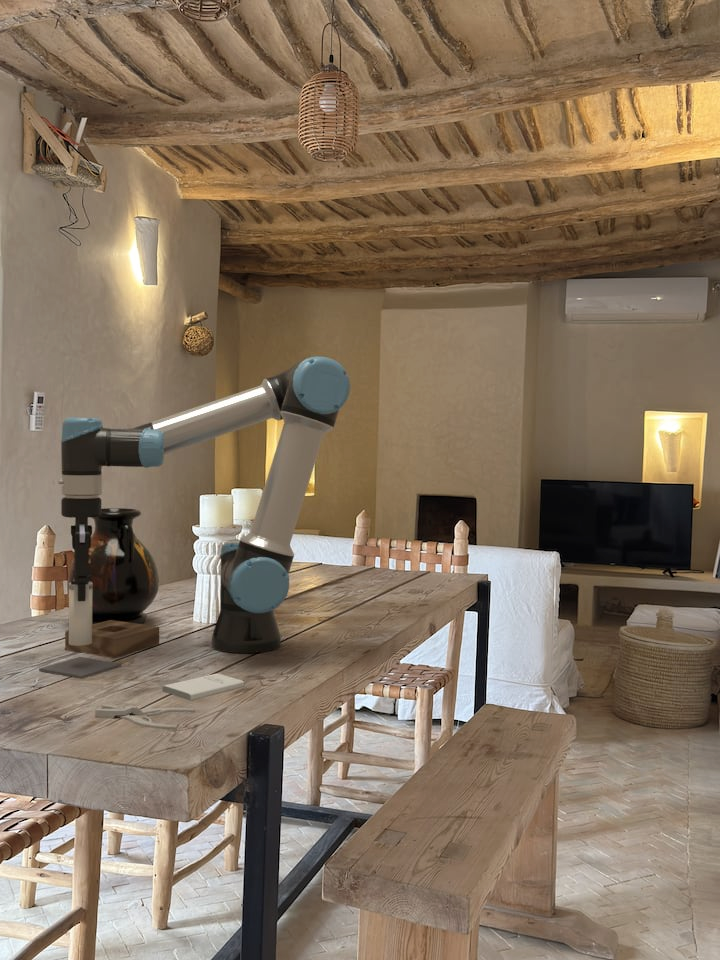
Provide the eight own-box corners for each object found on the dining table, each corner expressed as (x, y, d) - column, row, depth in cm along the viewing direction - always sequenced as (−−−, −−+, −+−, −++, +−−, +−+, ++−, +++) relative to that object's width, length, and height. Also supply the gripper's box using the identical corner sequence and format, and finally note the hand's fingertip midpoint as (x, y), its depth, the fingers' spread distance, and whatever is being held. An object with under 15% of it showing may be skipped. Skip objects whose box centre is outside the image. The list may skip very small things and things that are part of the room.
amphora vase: (174, 627, 219) (174, 511, 217) (87, 638, 205) (88, 515, 204) (135, 612, 236) (136, 505, 234) (53, 622, 222) (53, 508, 221)
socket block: (159, 644, 200) (159, 626, 200) (115, 657, 188) (115, 638, 188) (110, 637, 207) (110, 619, 206) (65, 649, 194) (65, 631, 194)
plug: (97, 642, 180) (97, 582, 179) (80, 646, 176) (81, 585, 175) (80, 639, 182) (80, 580, 181) (63, 643, 178) (63, 583, 177)
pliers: (175, 721, 143) (85, 716, 145) (175, 731, 143) (85, 725, 145) (195, 703, 153) (111, 698, 155) (195, 712, 153) (111, 707, 155)
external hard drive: (162, 693, 164) (215, 680, 174) (190, 703, 159) (244, 689, 168) (162, 685, 164) (215, 672, 173) (190, 694, 159) (244, 680, 168)
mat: (121, 665, 181) (121, 663, 181) (81, 678, 171) (81, 676, 171) (80, 659, 186) (80, 656, 186) (39, 671, 176) (39, 668, 176)
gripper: (61, 493, 184) (60, 607, 185) (61, 499, 168) (61, 624, 169) (99, 493, 187) (98, 605, 188) (103, 499, 170) (102, 622, 171)
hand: (81, 614), depth 178 cm, fingers closed on plug, 4 cm apart
